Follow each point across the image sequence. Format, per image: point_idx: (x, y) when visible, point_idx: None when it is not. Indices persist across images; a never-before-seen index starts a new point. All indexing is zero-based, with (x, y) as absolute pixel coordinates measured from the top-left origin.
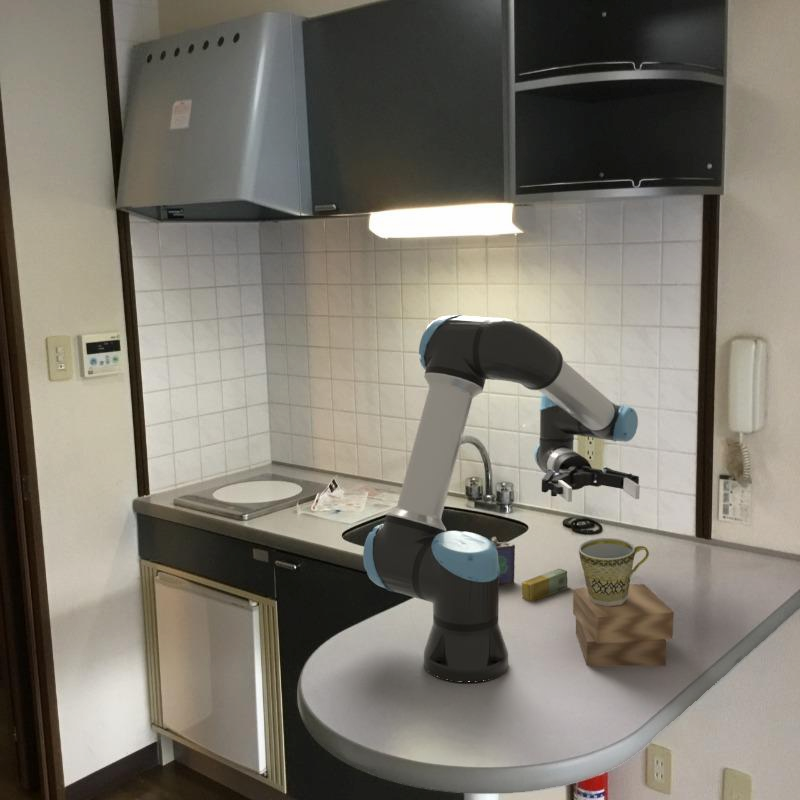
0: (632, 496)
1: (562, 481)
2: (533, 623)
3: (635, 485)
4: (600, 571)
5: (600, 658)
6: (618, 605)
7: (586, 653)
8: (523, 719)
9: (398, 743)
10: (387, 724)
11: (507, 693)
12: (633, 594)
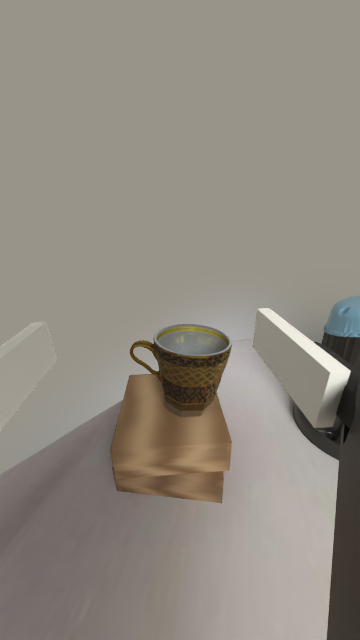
0: (44, 373)
1: (315, 354)
2: (299, 565)
3: (43, 324)
4: (205, 342)
5: None
6: None
7: None
8: (263, 361)
9: None
10: None
11: (281, 384)
12: (148, 415)
